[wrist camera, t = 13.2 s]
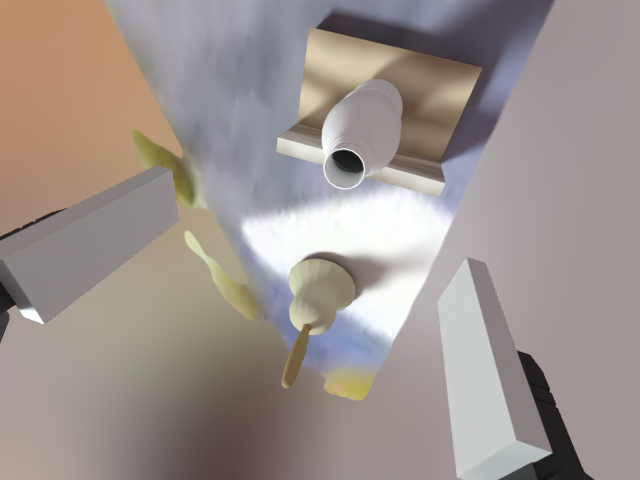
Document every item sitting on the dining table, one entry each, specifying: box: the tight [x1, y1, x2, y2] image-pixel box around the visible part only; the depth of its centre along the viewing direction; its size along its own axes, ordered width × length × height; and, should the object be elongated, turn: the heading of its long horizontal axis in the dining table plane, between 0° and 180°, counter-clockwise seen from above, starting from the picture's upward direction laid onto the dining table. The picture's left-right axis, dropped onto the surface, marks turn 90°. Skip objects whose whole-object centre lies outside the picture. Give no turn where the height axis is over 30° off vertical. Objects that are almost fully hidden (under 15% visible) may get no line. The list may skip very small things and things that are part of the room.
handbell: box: [282, 259, 356, 388], centre depth 55 cm, size 15×15×25 cm
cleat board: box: [277, 27, 482, 197], centre depth 38 cm, size 14×22×11 cm, turn 80°
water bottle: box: [322, 79, 403, 189], centre depth 30 cm, size 7×7×25 cm
